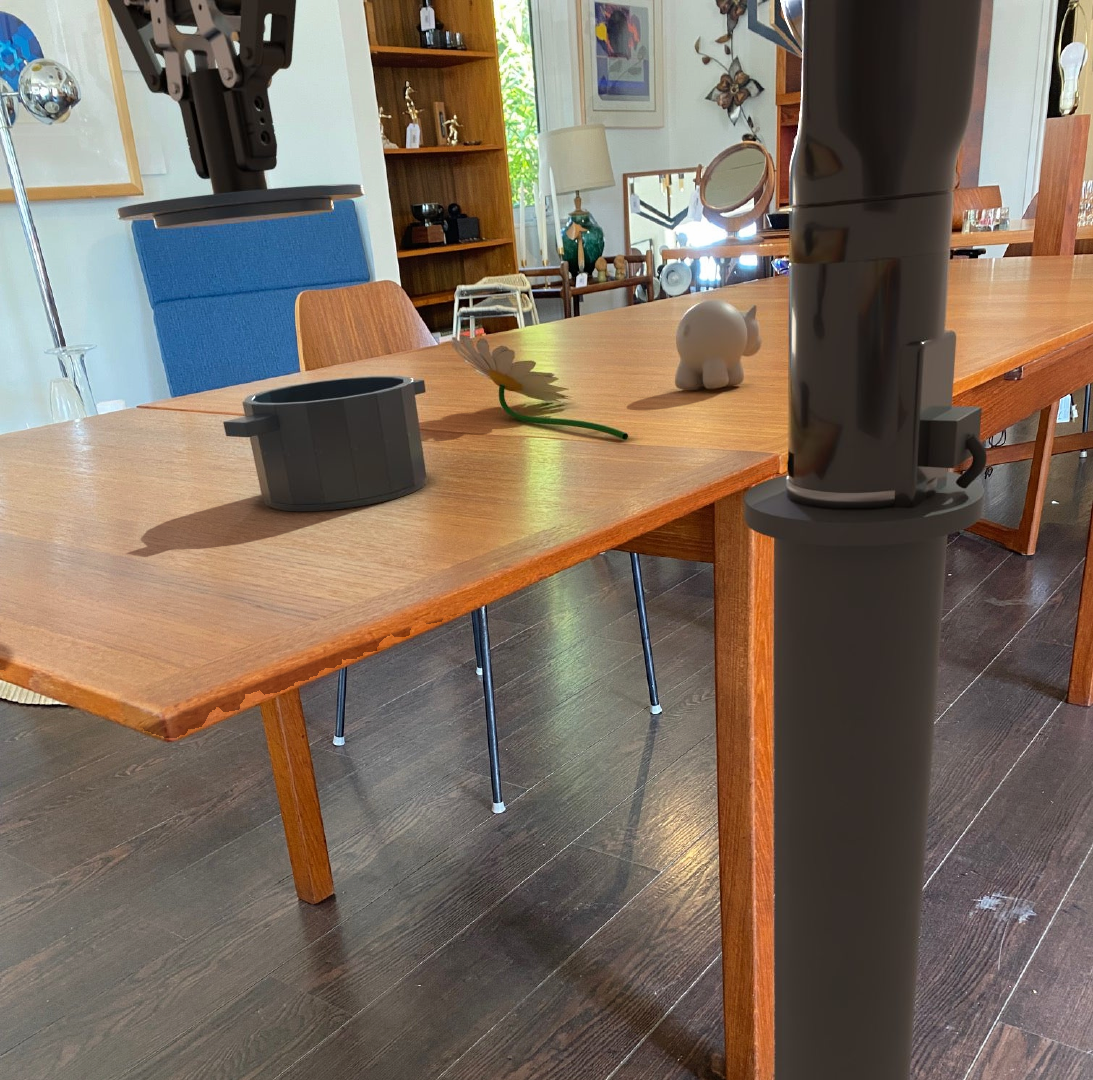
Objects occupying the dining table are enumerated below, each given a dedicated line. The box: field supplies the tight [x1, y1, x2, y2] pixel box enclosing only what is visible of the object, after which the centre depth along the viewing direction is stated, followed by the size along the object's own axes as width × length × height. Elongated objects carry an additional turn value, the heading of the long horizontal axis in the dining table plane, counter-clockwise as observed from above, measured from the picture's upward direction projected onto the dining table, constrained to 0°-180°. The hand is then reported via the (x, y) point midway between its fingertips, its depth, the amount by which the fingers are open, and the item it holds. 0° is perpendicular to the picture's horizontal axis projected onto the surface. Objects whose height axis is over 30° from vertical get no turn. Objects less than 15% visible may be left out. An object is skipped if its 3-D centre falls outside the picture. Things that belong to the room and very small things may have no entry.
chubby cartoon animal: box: [674, 299, 763, 391], centre depth 110 cm, size 7×12×8 cm, turn 134°
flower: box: [451, 334, 629, 441], centre depth 101 cm, size 13×6×30 cm
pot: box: [222, 375, 428, 512], centre depth 80 cm, size 12×18×8 cm
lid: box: [116, 67, 365, 230], centre depth 58 cm, size 13×13×7 cm
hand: (237, 172), depth 59 cm, fingers closed on lid, 3 cm apart
